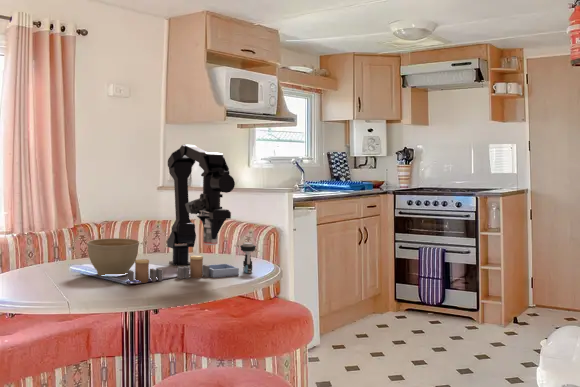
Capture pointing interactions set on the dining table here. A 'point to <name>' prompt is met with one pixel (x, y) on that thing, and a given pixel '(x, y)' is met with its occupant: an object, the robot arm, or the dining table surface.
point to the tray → (223, 270)
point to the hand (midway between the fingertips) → (210, 238)
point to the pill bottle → (208, 235)
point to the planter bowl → (112, 255)
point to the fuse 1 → (142, 270)
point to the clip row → (180, 273)
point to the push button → (247, 256)
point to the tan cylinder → (196, 266)
